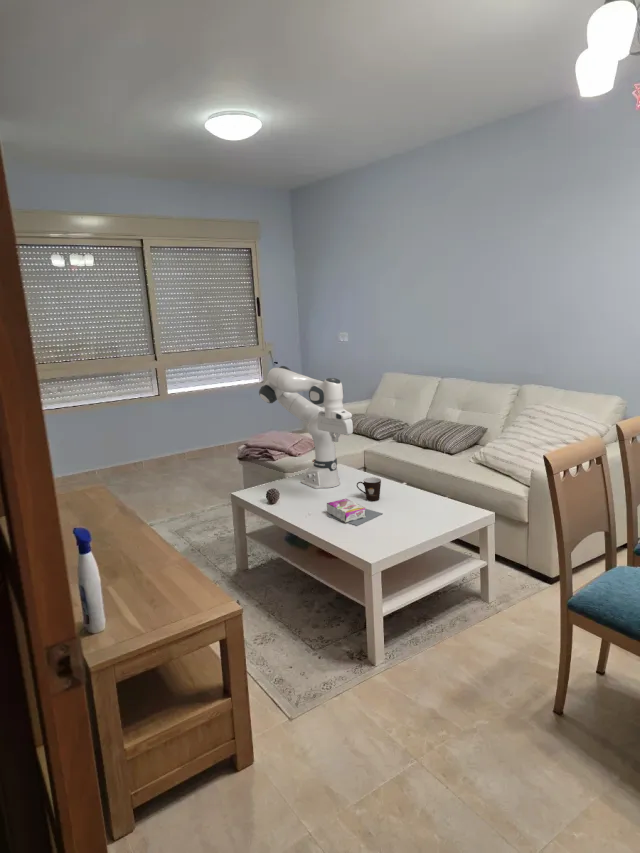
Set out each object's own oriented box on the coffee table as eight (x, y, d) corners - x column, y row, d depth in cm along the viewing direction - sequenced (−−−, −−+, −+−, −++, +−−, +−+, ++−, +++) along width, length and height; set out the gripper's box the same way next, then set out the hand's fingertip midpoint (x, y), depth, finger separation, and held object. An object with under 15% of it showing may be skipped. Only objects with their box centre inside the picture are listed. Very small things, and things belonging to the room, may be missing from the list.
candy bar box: (346, 497, 269) (366, 507, 256) (346, 507, 270) (366, 517, 257) (326, 502, 264) (345, 512, 250) (326, 512, 265) (345, 523, 251)
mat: (327, 516, 261) (327, 516, 261) (353, 505, 273) (353, 505, 273) (357, 526, 248) (356, 525, 248) (382, 514, 261) (382, 513, 261)
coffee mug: (385, 498, 281) (384, 479, 279) (374, 503, 275) (373, 483, 273) (366, 494, 289) (366, 475, 287) (355, 498, 283) (355, 479, 281)
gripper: (313, 411, 271) (314, 439, 274) (345, 416, 257) (346, 446, 260) (322, 409, 275) (323, 437, 279) (354, 414, 261) (355, 443, 264)
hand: (334, 441), depth 269 cm, fingers closed
